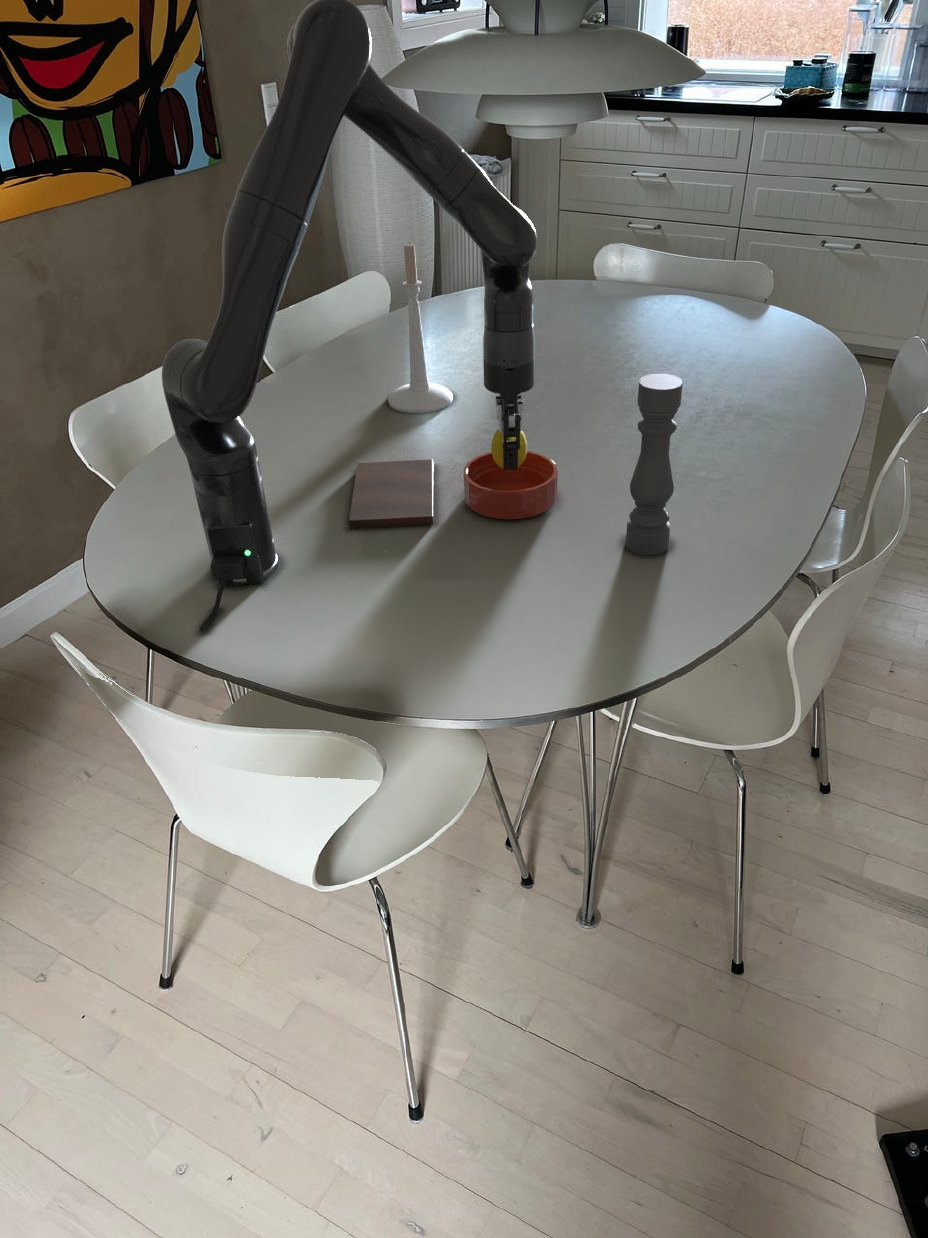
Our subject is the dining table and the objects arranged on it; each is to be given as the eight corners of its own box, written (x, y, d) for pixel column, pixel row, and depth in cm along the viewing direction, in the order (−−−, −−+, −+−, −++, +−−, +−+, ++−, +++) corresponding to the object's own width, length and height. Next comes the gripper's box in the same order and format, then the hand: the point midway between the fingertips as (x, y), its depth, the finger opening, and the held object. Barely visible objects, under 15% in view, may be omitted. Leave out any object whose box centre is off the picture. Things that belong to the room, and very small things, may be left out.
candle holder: (639, 529, 140) (652, 369, 126) (676, 541, 137) (693, 378, 122) (617, 546, 136) (628, 383, 122) (654, 560, 133) (670, 393, 118)
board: (433, 524, 144) (432, 516, 143) (349, 528, 144) (348, 520, 143) (433, 466, 160) (432, 459, 159) (358, 470, 160) (357, 462, 159)
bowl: (561, 519, 144) (562, 489, 140) (466, 524, 144) (464, 494, 140) (551, 475, 156) (552, 447, 152) (463, 480, 156) (462, 452, 153)
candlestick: (379, 395, 187) (363, 239, 170) (438, 383, 191) (428, 229, 174) (402, 417, 178) (387, 255, 160) (462, 404, 182) (455, 244, 164)
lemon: (523, 480, 144) (524, 432, 139) (488, 477, 145) (488, 430, 140) (529, 464, 148) (529, 417, 143) (495, 462, 149) (494, 415, 144)
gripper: (481, 340, 141) (483, 442, 151) (485, 374, 130) (487, 482, 139) (530, 338, 141) (529, 440, 151) (538, 371, 130) (537, 480, 139)
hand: (509, 460), depth 145 cm, fingers closed on lemon, 5 cm apart
